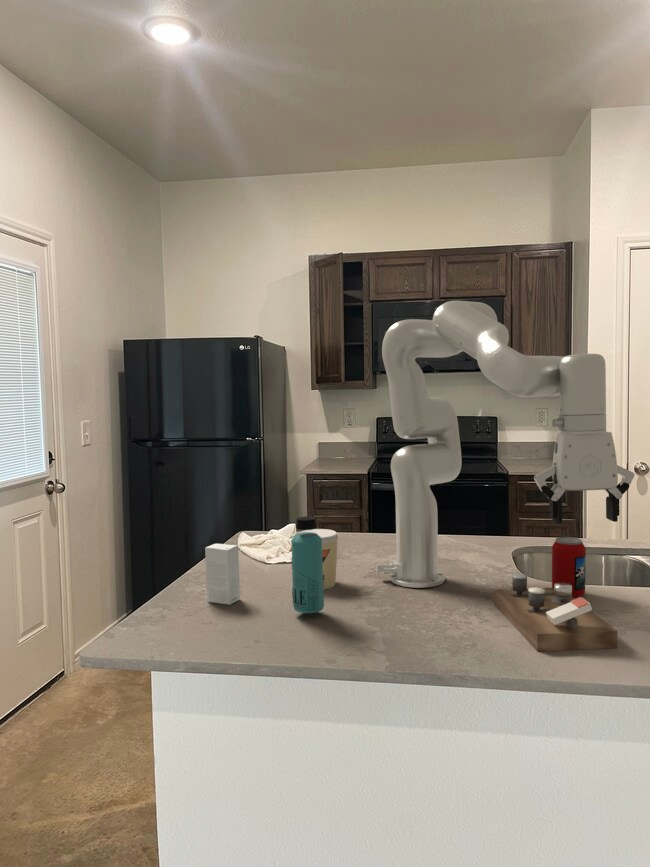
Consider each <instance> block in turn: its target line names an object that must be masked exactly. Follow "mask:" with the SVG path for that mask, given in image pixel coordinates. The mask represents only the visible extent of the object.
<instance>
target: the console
mask: <svg viewBox="0 0 650 867" xmlns="http://www.w3.org/2000/svg"><path fill="white" fill-rule="evenodd" d="M541 588H542V589H544V590H545V592H544V607H540V610H534V609H533V607H532V606H530V605H529V591H528V589H529V588H527V591H525V592H523V594H522V595H519V594H517V591H514V590H513V589H512V588H511V589H509V588H508V589H494V590H493V605H494V606H495V607H496V609H498V610H499V611H500V612H501V614H502V615H503V616H504V617H505V618H506V619H507V620H508V622H510V623H511V625H513V627H514V628H515V629H516V630H517V631H518V632H519V633H520V634H521V635H522V636H523V637H524V639H526V640H527V642H528V643H529V644H530V645H531V646H532V647H533V649H534V650H536V652H553V651H555V652H556V651H573V650H574V651H576V650H597V649H600V650H601V649H602V650H603V649H617V648H618V630H617V629H616V628H614V626H612V625H610V624H609V623H608V622H606V621H605V620H604V619H602V618H601V617H600V616H598V615H597V614H596V613H595V612H593V610H591V611H588V612H586V613H583V614H581V615H578V616H576V617H573V618H571V619H568V620H566V621H563V622H561V623H558V624H556V625H555V624H554V623H553V622H551V621H550V620H549V619H548V617H547V614H546V612H547V611H550V610H552V609H555V608H557V607H560V606H562V605H565V604H567V603H570V601H572V600H574V599H576V598H573V597H572V596H571V597H569V598H561V597H557V596H555V595H554V588H552V587H541Z"/></svg>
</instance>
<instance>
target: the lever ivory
mask: <svg viewBox="0 0 650 867" xmlns="http://www.w3.org/2000/svg"><path fill="white" fill-rule="evenodd" d="M542 588H543V587H539V586H538V587H537V586H536V587H533V586H531V587H529V588H527V589H528V591H529V605H530V606H532V607H533V609H534V610H540V607H544V592H545V590H544V589H542Z"/></svg>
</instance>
